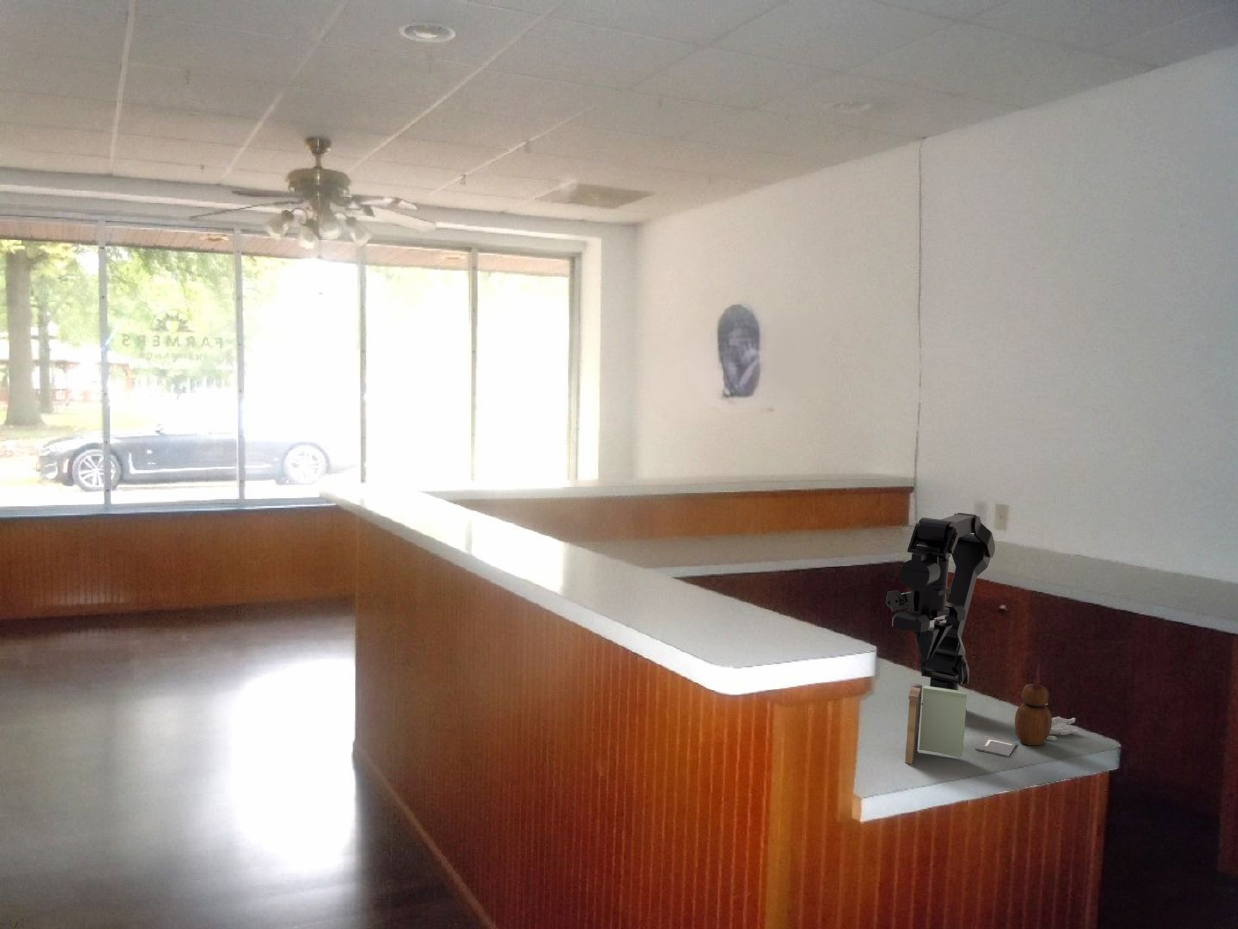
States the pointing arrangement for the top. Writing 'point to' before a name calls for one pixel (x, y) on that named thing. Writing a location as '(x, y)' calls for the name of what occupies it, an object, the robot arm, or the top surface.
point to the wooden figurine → (1033, 714)
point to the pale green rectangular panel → (943, 721)
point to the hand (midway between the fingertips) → (926, 658)
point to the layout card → (996, 746)
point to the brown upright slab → (913, 722)
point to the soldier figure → (1061, 730)
